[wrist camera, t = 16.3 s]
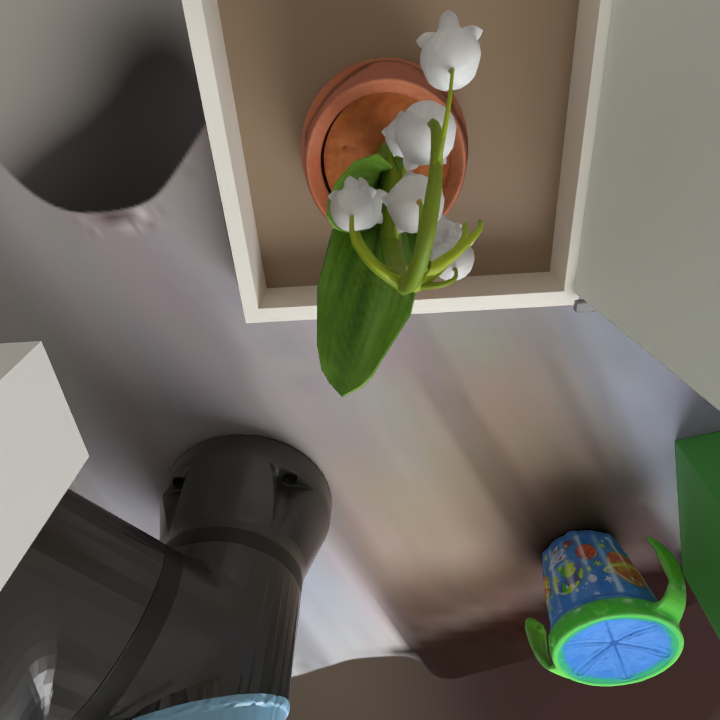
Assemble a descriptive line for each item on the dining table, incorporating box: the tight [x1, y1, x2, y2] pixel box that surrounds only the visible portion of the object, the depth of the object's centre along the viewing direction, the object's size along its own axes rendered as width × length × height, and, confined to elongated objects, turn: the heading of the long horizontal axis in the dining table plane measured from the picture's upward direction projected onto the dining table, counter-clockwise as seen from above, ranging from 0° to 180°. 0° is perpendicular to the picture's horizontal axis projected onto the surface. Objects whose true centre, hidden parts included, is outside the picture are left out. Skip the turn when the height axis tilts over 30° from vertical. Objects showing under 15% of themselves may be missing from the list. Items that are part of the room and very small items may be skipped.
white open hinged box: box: [182, 0, 720, 411], centre depth 25 cm, size 26×22×22 cm
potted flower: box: [301, 9, 484, 397], centre depth 24 cm, size 12×10×25 cm
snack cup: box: [525, 530, 686, 686], centre depth 50 cm, size 16×10×10 cm
